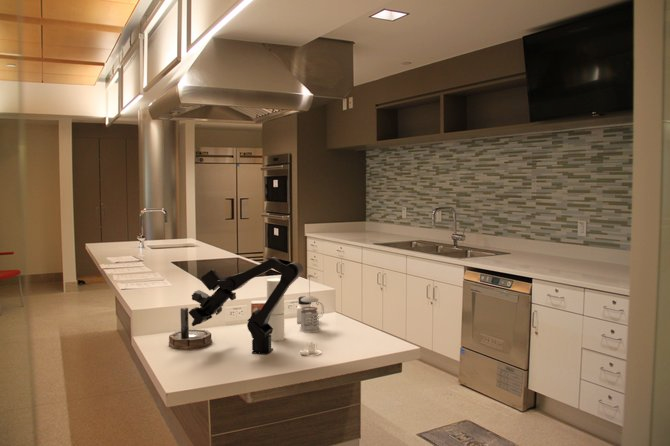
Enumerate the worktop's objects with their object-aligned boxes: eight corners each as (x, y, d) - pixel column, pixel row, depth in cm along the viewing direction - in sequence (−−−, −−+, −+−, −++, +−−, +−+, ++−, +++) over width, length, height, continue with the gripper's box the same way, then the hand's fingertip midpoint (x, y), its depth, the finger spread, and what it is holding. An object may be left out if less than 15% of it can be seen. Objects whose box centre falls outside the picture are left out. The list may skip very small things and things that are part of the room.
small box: (251, 332, 236) (250, 303, 235) (251, 329, 242) (251, 300, 241) (269, 331, 237) (269, 302, 236) (269, 328, 243) (269, 299, 242)
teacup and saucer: (301, 357, 201) (301, 347, 201) (297, 351, 209) (296, 341, 208) (323, 355, 203) (323, 345, 203) (318, 349, 211) (318, 339, 211)
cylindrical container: (285, 336, 229) (285, 278, 228) (282, 340, 222) (282, 281, 221) (269, 335, 230) (268, 278, 229) (265, 340, 223) (265, 281, 222)
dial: (211, 336, 224) (210, 303, 223) (197, 345, 212) (196, 310, 211) (183, 335, 227) (183, 302, 226) (168, 343, 215) (167, 308, 214)
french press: (295, 328, 242) (295, 273, 241) (319, 325, 247) (318, 272, 246) (303, 333, 233) (303, 276, 232) (327, 330, 238) (327, 274, 237)
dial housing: (218, 338, 226) (218, 329, 226) (200, 350, 209) (199, 340, 209) (181, 336, 230) (181, 327, 229) (160, 347, 213) (160, 338, 213)
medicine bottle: (312, 323, 252) (311, 298, 251) (296, 323, 252) (296, 298, 251) (312, 319, 259) (312, 295, 258) (298, 319, 259) (297, 295, 258)
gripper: (214, 280, 221) (190, 305, 224) (193, 288, 203) (167, 315, 206) (232, 300, 220) (208, 325, 223) (212, 310, 201) (186, 337, 204)
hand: (192, 325), depth 214 cm, fingers closed
